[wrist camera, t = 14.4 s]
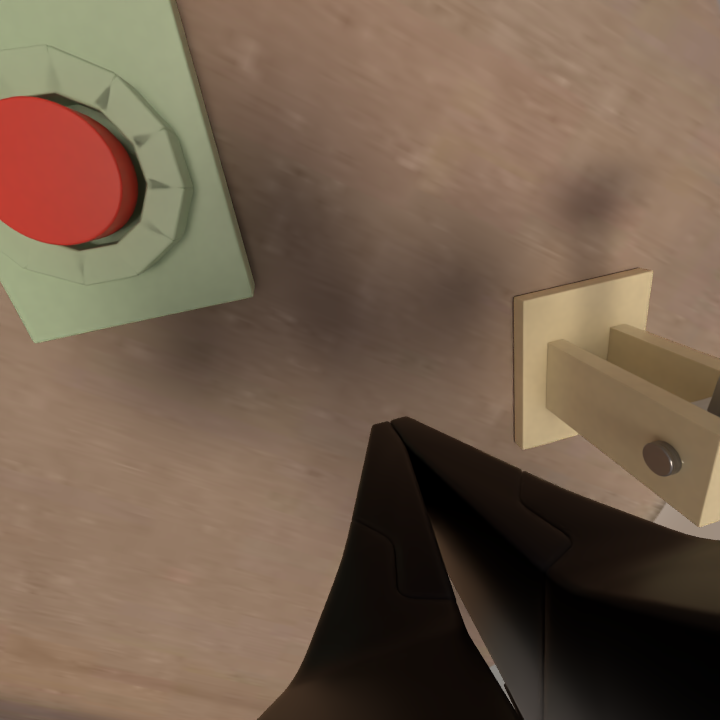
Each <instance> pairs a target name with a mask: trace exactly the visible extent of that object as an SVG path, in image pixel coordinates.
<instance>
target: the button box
mask: <svg viewBox="0 0 720 720" xmlns="http://www.w3.org/2000/svg"><path fill="white" fill-rule="evenodd" d="M15 96H32V97H38V98H43V99H47V100H50V101H53V102H56V103H58V104H61V105H63V106H66V107H68V108H70V109H73V110H75V111H78V112H80V113H82V114H84V115H87V116H89V117H91V118H92V119H94V120H96V121H97V122H99V123H100V124H102V125H103V126H104V127H106V128H107V129H108V130H109V131H110V132H111V133H112V134H113V135H114V136H115V137H116V138H117V139H118V140H119V141H120V143H121V144H122V145H123V147H124V148H125V150H126V151H127V153H128V155H129V157H130V158H131V161H132V163H133V165H134V168H135V172H136V175H137V181H138V199H137V204H136V207H135V210H134V212H133V214H132V216H131V218H130V219H129V221H128V222H127V223H126V224H125V225H124V226H123V227H122V228H121V229H120V230H118V231H117V232H115V233H113V234H111V235H109V236H106V237H103V238H100V239H96V240H93V241H89V242H85V243H81V244H77V245H53V244H47V243H43V242H39V241H36V240H34V239H31V238H29V237H26V236H24V235H22V234H20V233H18V232H17V231H15V230H13V229H12V228H10V227H9V226H8V225H6V224H5V223H3V222H2V221H1V220H0V281H1V283H2V285H3V287H4V289H5V291H6V292H7V294H8V296H9V298H10V300H11V302H12V304H13V305H14V307H15V309H16V311H17V313H18V315H19V316H20V318H21V320H22V322H23V324H24V326H25V327H26V329H27V331H28V333H29V335H30V337H31V339H32V340H33V342H34V343H40V342H45V341H50V340H54V339H59V338H64V337H68V336H73V335H78V334H82V333H87V332H92V331H96V330H101V329H106V328H110V327H115V326H120V325H124V324H129V323H134V322H139V321H143V320H148V319H153V318H157V317H162V316H167V315H171V314H176V313H181V312H185V311H190V310H195V309H199V308H204V307H209V306H213V305H218V304H223V303H228V302H232V301H237V300H242V299H246V298H251V297H253V295H254V288H255V283H254V280H253V276H252V273H251V269H250V266H249V262H248V258H247V255H246V251H245V248H244V244H243V240H242V237H241V233H240V230H239V226H238V222H237V219H236V215H235V212H234V208H233V205H232V201H231V197H230V194H229V190H228V187H227V183H226V179H225V176H224V172H223V169H222V165H221V161H220V158H219V154H218V151H217V147H216V144H215V140H214V136H213V133H212V129H211V126H210V122H209V118H208V115H207V111H206V108H205V104H204V100H203V97H202V93H201V90H200V86H199V82H198V79H197V75H196V72H195V68H194V65H193V61H192V57H191V54H190V50H189V47H188V43H187V39H186V36H185V32H184V29H183V25H182V21H181V18H180V14H179V11H178V7H177V4H176V0H0V100H1V99H4V98H9V97H15Z"/></svg>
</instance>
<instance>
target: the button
mask: <svg viewBox="0 0 720 720" xmlns="http://www.w3.org/2000/svg"><path fill="white" fill-rule="evenodd" d="M137 199H138V181H137V175H136V172H135V168H134V165H133V163H132V161H131V158H130V157H129V155H128V153H127V151H126V150H125V148H124V147H123V145H122V144H121V143H120V141H119V140H118V139H117V138H116V137H115V136H114V135H113V134H112V133H111V132H110V131H109V130H108V129H107V128H106V127H104V126H103V125H102V124H100V123H99V122H97V121H96V120H94V119H92V118H91V117H89V116H87V115H84V114H82V113H80V112H78V111H75V110H73V109H70V108H68V107H66V106H63V105H61V104H58V103H56V102H53V101H50V100H47V99H43V98H38V97H32V96H15V97H9V98H4V99H1V100H0V220H1V221H2V222H3V223H5V224H6V225H8V226H9V227H10V228H12V229H13V230H15V231H17V232H18V233H20V234H22V235H24V236H26V237H29V238H31V239H34V240H36V241H39V242H43V243H47V244H53V245H77V244H81V243H85V242H89V241H93V240H96V239H100V238H103V237H106V236H109V235H111V234H113V233H115V232H117V231H118V230H120V229H121V228H122V227H123V226H124V225H125V224H126V223H127V222H128V221H129V219H130V218H131V216H132V214H133V212H134V210H135V207H136V204H137Z"/></svg>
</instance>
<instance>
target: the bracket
mask: <svg viewBox="0 0 720 720" xmlns="http://www.w3.org/2000/svg"><path fill="white" fill-rule="evenodd" d="M652 278H653V271H651V270H647V269H642V268H637V269H633V270H629V271H624V272H620V273H616V274H611V275H607V276H603V277H598V278H594V279H590V280H585V281H581V282H577V283H572V284H568V285H564V286H559V287H555V288H551V289H546V290H542V291H538V292H534V293H529V294H525V295H521V296H516V297H514V399H515V443H516V444H517V445H518V446H519V447H520V448H521V449H522V450H526V449H530V448H533V447H537V446H540V445H544V444H547V443H551V442H554V441H558V440H562V439H565V438H569V437H572V436H576V435H579V434H580V435H581V436H582V437H584V438H585V439H586V440H588V441H589V442H590V443H591V444H593V445H594V446H595V447H596V448H598V449H599V450H600V451H602V452H603V453H604V454H605V455H607V456H608V457H609V458H611V459H612V460H613V461H614V462H616V463H617V464H618V465H620V466H621V467H622V468H623V469H625V470H626V471H627V472H628V473H630V474H631V475H632V476H634V477H635V478H636V479H637V480H639V481H640V482H641V483H643V484H644V485H645V486H646V487H648V488H649V489H650V490H651V491H653V492H654V493H655V494H657V495H658V496H659V497H660V498H662V499H663V500H664V501H666V502H667V503H668V504H669V505H671V506H672V507H673V508H675V509H676V510H677V511H678V512H680V513H681V514H682V515H683V516H685V517H686V518H687V519H689V520H690V521H691V522H692V523H694V524H695V525H696V526H697V527H702V526H705V525H708V524H711V523H715V522H718V521H720V417H718V416H716V415H714V414H712V413H710V412H708V411H706V410H704V409H702V408H700V407H698V406H696V405H694V404H692V403H691V402H694V401H698V400H701V399H705V398H708V397H712V395H713V392H714V389H715V387H716V384H717V381H718V378H719V375H720V359H719V358H717V357H714V356H711V355H709V354H706V353H703V352H700V351H698V350H695V349H692V348H690V347H687V346H684V345H682V344H679V343H676V342H674V341H671V340H668V339H665V338H663V337H660V336H657V335H655V334H652V333H649V332H647V331H645V329H646V321H647V314H648V307H649V300H650V292H651V285H652Z"/></svg>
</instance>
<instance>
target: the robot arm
mask: <svg viewBox="0 0 720 720" xmlns="http://www.w3.org/2000/svg"><path fill="white" fill-rule="evenodd" d="M447 573H448V574H447ZM448 575H449V577H450V578H451V580H452V582H453V584H454V586H455V588H456V590H457V592H458V594H459V596H460V598H461V599H462V601H463V603H464V605H465V607H466V609H467V611H468V613H469V615H470V617H471V619H472V620H473V622H474V624H475V626H476V628H477V630H478V632H479V634H480V636H481V638H482V640H483V642H484V643H485V645H486V647H487V649H488V651H489V653H490V655H491V657H492V659H493V661H494V663H495V664H496V666H497V668H498V670H499V672H500V674H501V676H502V678H503V680H504V682H505V684H504V687H505V689H506V691H507V693H508V695H509V697H510V699H511V702H512V704H513V706H514V707H513V706H512V704H511V703H510V701H509V699H508V698H507V696H506V694H505V693H504V691H503V690H502V688H501V686H500V685H499V683H498V681H497V680H496V678H495V677H494V675H493V673H492V672H491V670H490V668H489V667H488V665H487V664H486V662H485V660H484V659H483V657H482V655H481V654H480V652H479V650H478V649H477V647H476V646H475V644H474V642H473V641H472V639H471V637H470V636H469V634H468V632H467V629H466V627H465V624H464V622H463V619H462V616H461V614H460V611H459V608H458V605H457V603H456V598H455V595H454V592H453V589H452V586H451V583H450V580H449V577H448ZM514 708H515V709H514ZM257 720H720V540H711V539H705V538H699V537H695V536H691V535H687V534H684V533H681V532H678V531H675V530H672V529H669V528H666V527H664V526H661V525H658V524H656V523H653V522H650V521H648V520H645V519H642V518H640V517H637V516H634V515H631V514H629V513H626V512H623V511H621V510H618V509H615V508H612V507H610V506H607V505H604V504H602V503H599V502H596V501H594V500H591V499H589V498H586V497H583V496H581V495H578V494H576V493H573V492H571V491H568V490H566V489H563V488H561V487H559V486H556V485H554V484H552V483H550V482H547V481H545V480H543V479H541V478H538V477H536V476H534V475H532V474H530V473H528V472H526V471H523V472H522V470H521V469H519V468H517V467H515V466H512V465H510V464H508V463H506V462H504V461H502V460H500V459H497V458H495V457H493V456H491V455H489V454H487V453H485V452H482V451H480V450H478V449H476V448H474V447H472V446H470V445H468V444H465V443H463V442H461V441H459V440H457V439H455V438H453V437H450V436H448V435H446V434H444V433H442V432H440V431H438V430H435V429H433V428H431V427H429V426H427V425H425V424H423V423H420V422H418V421H416V420H414V419H412V418H410V417H407V416H405V417H401V418H397V419H394V420H392V421H391V422H388V421H386V422H382V423H379V424H375V425H373V426H372V428H371V433H370V437H369V442H368V447H367V451H366V456H365V461H364V465H363V470H362V474H361V479H360V484H359V488H358V493H357V498H356V502H355V507H354V511H353V516H352V522H351V524H350V529H349V534H348V538H347V542H346V545H345V549H344V553H343V557H342V560H341V563H340V566H339V569H338V572H337V574H336V577H335V580H334V583H333V586H332V588H331V591H330V593H329V596H328V599H327V601H326V604H325V606H324V609H323V612H322V614H321V617H320V619H319V622H318V625H317V627H316V630H315V632H314V635H313V638H312V640H311V643H310V646H309V648H308V650H307V653H306V655H305V658H304V660H303V662H302V664H301V666H300V668H299V670H298V672H297V674H296V675H295V677H294V679H293V680H292V682H291V683H290V685H289V686H288V687H287V689H286V690H285V691H284V692H283V693H282V694H281V695H280V696H279V697H278V698H277V699H276V701H275V702H274V703H273V704H272V705H271V706H270V707H269V708H268V709H267V710H266V711H265V712H264V713H263V714H262V715H261V716H260V717H259V718H258V719H257Z"/></svg>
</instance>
